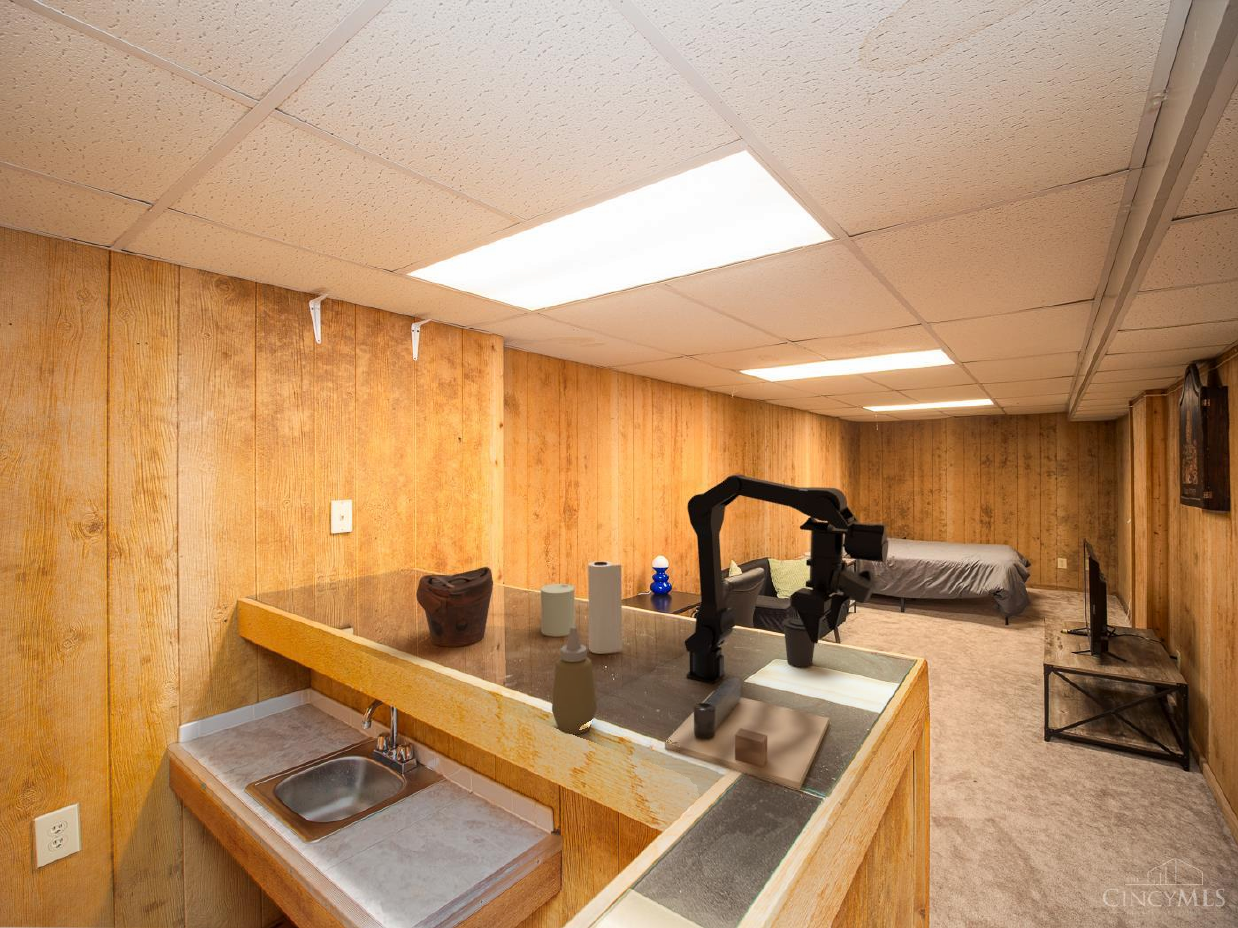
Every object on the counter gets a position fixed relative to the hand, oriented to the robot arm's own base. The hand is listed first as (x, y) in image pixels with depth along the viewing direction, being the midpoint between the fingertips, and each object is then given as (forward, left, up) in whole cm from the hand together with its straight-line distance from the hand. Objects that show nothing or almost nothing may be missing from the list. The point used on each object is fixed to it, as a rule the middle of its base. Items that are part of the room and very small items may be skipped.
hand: (823, 636), depth 108 cm
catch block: (-6, -26, -13) cm, 30 cm away
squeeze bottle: (-37, -30, -14) cm, 50 cm away
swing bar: (-15, -17, -12) cm, 25 cm away
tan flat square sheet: (-9, -17, -14) cm, 24 cm away
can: (-70, +9, -14) cm, 72 cm away
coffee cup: (-9, +19, -14) cm, 25 cm away
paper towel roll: (-52, +3, -14) cm, 54 cm away
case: (-89, -9, -14) cm, 90 cm away
